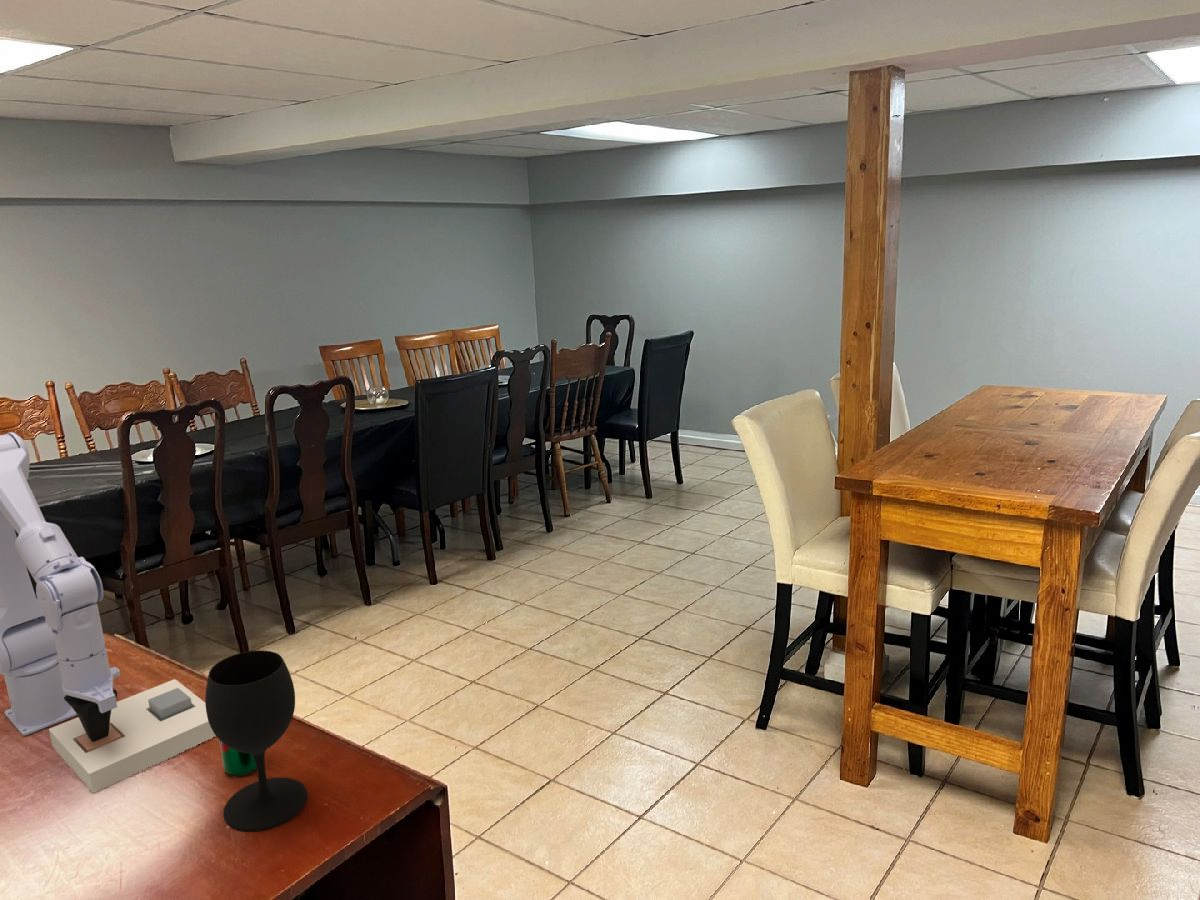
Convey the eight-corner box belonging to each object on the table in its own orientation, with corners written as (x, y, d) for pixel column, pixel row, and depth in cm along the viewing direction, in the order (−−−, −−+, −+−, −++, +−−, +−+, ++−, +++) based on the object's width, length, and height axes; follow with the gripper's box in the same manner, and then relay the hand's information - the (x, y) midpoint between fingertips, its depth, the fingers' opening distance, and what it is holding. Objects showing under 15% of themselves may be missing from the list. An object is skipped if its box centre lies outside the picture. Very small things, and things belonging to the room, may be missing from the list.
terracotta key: (79, 750, 124) (76, 738, 124) (111, 736, 127) (109, 724, 127) (90, 762, 121) (87, 750, 121) (123, 748, 124) (121, 736, 124)
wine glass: (222, 792, 116) (201, 657, 111) (304, 771, 120) (287, 640, 115) (223, 841, 107) (200, 697, 102) (311, 817, 111) (293, 677, 106)
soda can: (249, 780, 119) (238, 702, 115) (216, 776, 120) (204, 698, 116) (270, 757, 123) (259, 682, 120) (238, 754, 124) (226, 678, 121)
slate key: (150, 711, 131) (148, 699, 130) (179, 699, 134) (177, 687, 133) (162, 722, 128) (160, 710, 127) (192, 709, 131) (190, 697, 131)
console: (52, 747, 127) (48, 729, 126) (177, 695, 140) (174, 679, 139) (93, 793, 117) (89, 773, 116) (224, 733, 129) (221, 715, 129)
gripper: (133, 656, 118) (149, 744, 122) (93, 625, 128) (109, 707, 131) (76, 677, 113) (94, 768, 117) (39, 643, 123) (57, 727, 126)
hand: (99, 737), depth 124 cm, fingers closed, pressing on terracotta key
